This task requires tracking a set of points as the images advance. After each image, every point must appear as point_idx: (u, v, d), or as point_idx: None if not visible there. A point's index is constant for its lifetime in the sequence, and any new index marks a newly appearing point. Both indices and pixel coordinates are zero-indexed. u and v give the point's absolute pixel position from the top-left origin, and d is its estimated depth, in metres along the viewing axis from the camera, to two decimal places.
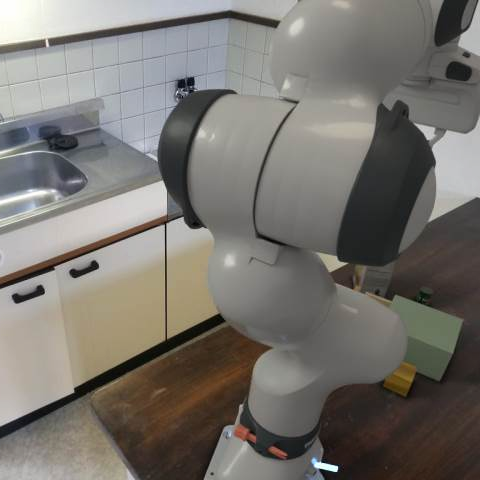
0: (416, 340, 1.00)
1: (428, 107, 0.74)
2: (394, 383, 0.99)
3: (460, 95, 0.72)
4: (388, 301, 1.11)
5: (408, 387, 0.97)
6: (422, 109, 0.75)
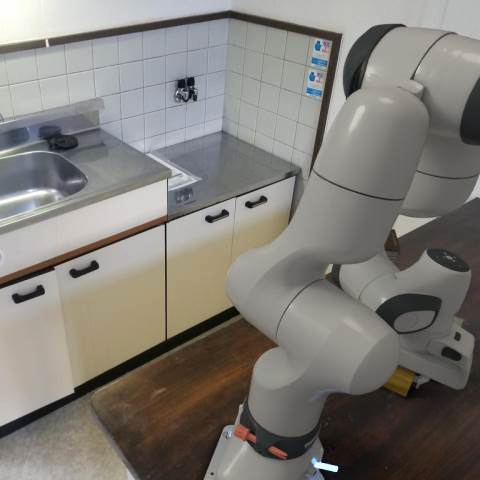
0: None
1: (427, 366, 0.93)
2: (394, 383, 0.99)
3: (453, 364, 0.90)
4: None
5: (408, 387, 0.97)
6: (423, 366, 0.94)
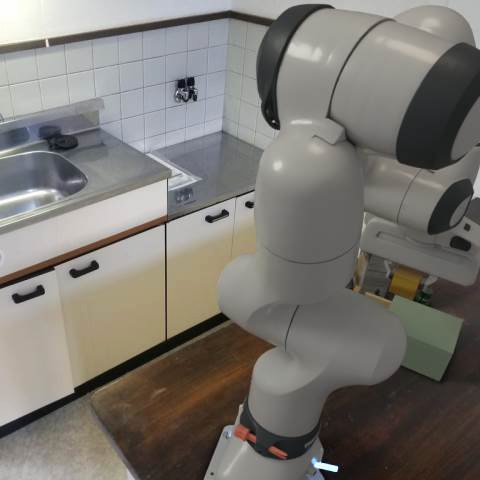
0: (416, 340, 1.00)
1: (435, 262, 0.89)
2: (400, 287, 0.95)
3: (462, 258, 0.87)
4: (388, 301, 1.11)
5: (415, 289, 0.94)
6: (430, 263, 0.90)
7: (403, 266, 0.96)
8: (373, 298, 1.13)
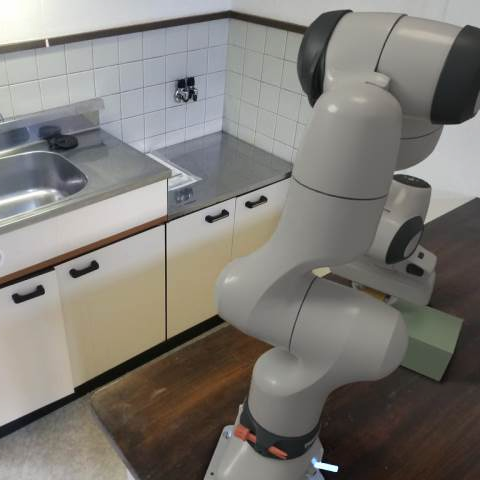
0: (416, 340, 1.00)
1: (395, 285, 1.02)
2: None
3: (417, 282, 0.99)
4: None
5: None
6: (391, 286, 1.03)
7: (369, 287, 1.09)
8: None
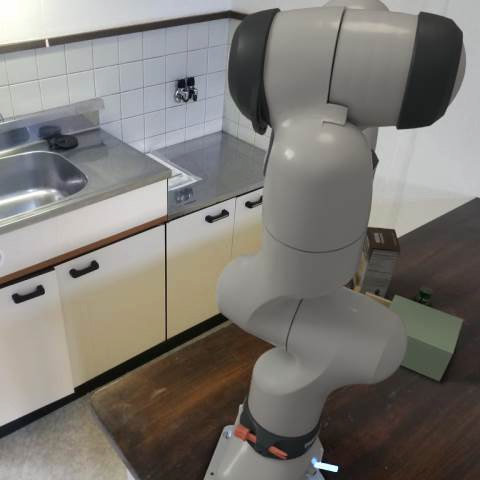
0: (416, 340, 1.00)
1: None
2: None
3: None
4: (388, 301, 1.11)
5: None
6: None
7: None
8: (373, 298, 1.13)
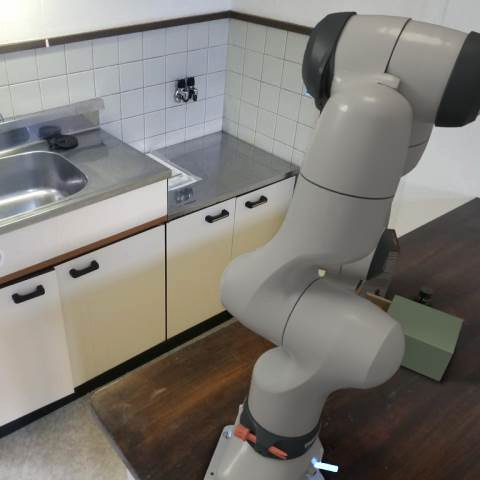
0: (416, 340, 1.00)
1: None
2: None
3: None
4: (389, 301, 1.11)
5: None
6: None
7: None
8: (374, 298, 1.13)
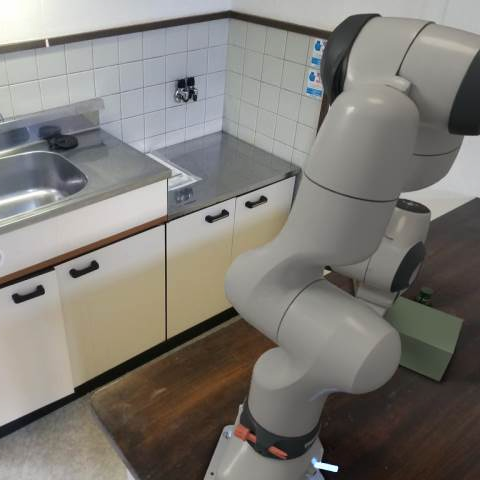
0: (416, 340, 1.00)
1: None
2: None
3: None
4: None
5: None
6: None
7: None
8: None
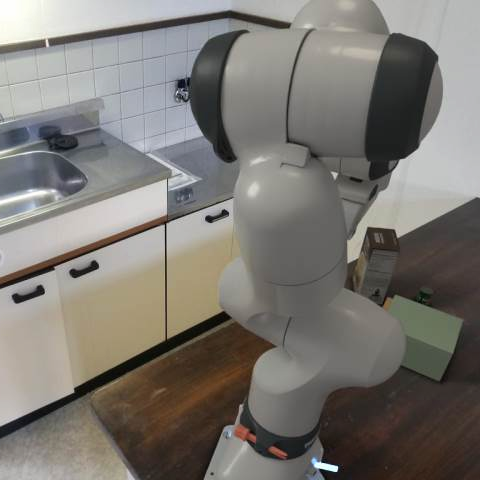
0: (416, 340, 1.00)
1: None
2: None
3: None
4: None
5: None
6: None
7: None
8: None
